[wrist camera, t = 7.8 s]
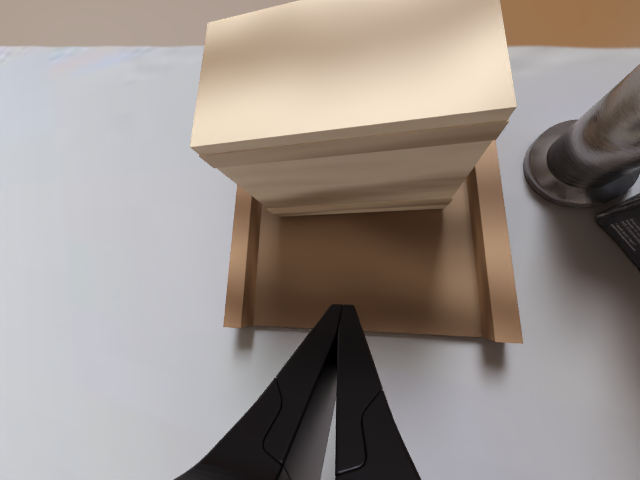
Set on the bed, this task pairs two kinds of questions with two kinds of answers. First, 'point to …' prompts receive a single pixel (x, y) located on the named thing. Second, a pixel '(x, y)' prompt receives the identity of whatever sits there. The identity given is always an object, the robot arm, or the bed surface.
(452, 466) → the bed surface
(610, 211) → the small box
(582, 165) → the flanged metal cylinder
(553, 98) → the bed surface
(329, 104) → the pale wooden box
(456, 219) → the bay
